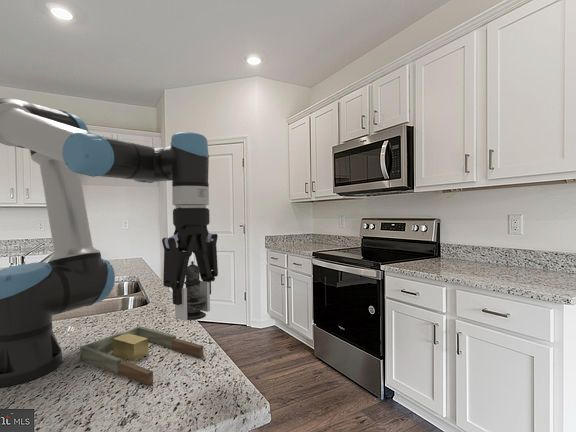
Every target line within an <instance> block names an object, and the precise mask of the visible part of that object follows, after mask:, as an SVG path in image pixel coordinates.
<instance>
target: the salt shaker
mask: <svg viewBox="0 0 576 432" xmlns="http://www.w3.org/2000/svg"><path fill="white" fill-rule="evenodd" d="M194 263H195V262H194V260H191V262H190V264H189V265H188V267H187V272H186V277H185V281H184V285H185V288H187V320H186V321H197V320H201V319H204V318H206V316H207V314H206V313H205V311H201V310H202V309H203V308H204V307H205V304H206V300H207V298H206V297H203V296H202V295H201V292H200V283H201V281H202V280H201V277H200V273H199V267H198V265H197V264H194Z"/></svg>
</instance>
